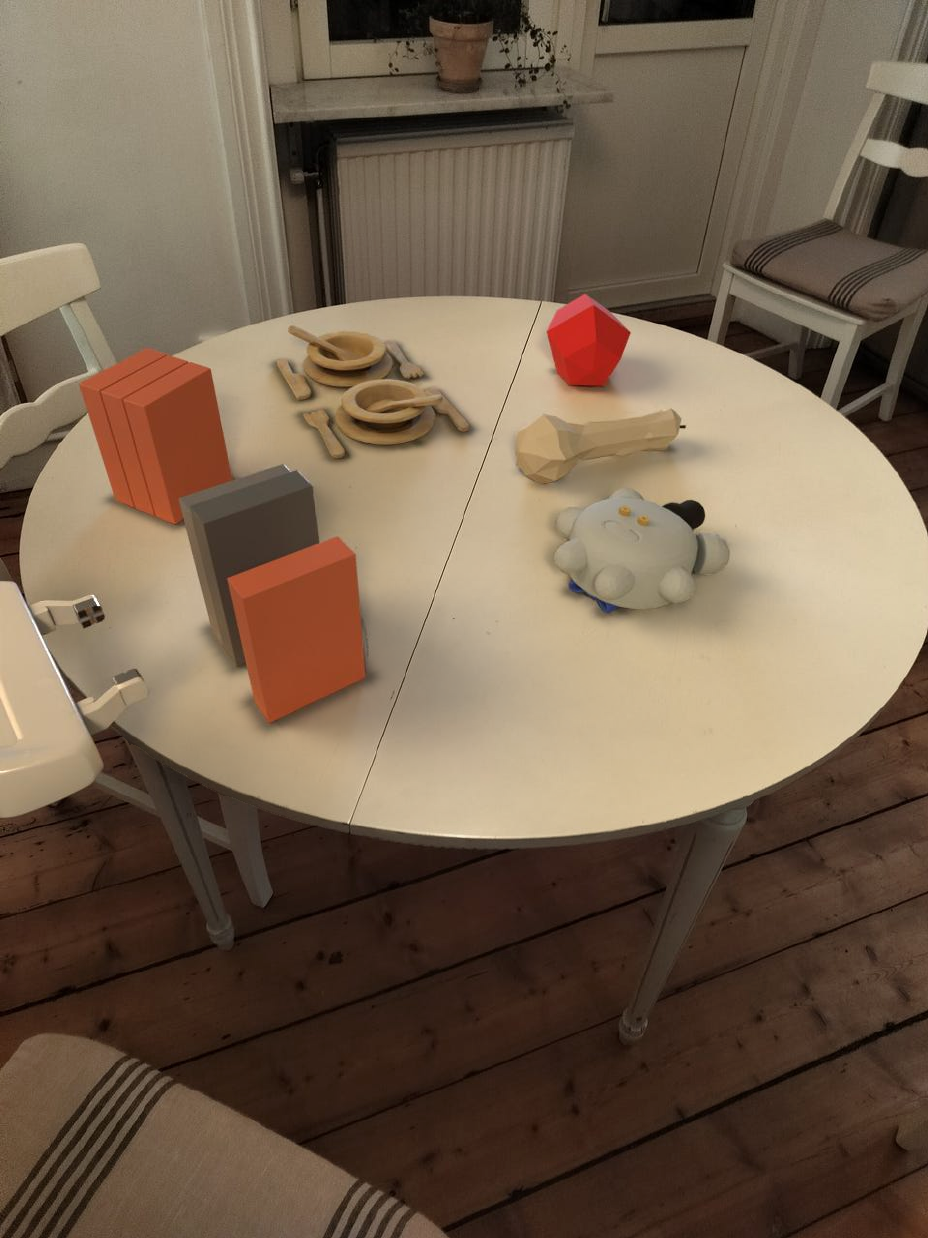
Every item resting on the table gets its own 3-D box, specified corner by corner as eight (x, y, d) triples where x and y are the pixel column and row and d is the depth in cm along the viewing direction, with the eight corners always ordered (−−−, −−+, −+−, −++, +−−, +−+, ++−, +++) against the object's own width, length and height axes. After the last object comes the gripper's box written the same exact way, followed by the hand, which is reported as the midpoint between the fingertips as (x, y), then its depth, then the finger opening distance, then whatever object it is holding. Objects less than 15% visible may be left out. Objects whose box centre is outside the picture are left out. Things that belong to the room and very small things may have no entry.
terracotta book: (269, 723, 74) (242, 599, 64) (254, 702, 76) (226, 577, 66) (365, 677, 79) (355, 554, 68) (350, 658, 80) (338, 535, 70)
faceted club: (495, 456, 106) (657, 425, 114) (524, 506, 102) (688, 470, 111) (511, 403, 98) (682, 375, 107) (542, 455, 94) (717, 422, 103)
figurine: (639, 655, 81) (746, 583, 93) (661, 585, 76) (772, 518, 87) (512, 570, 90) (624, 514, 102) (523, 502, 85) (640, 451, 96)
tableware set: (472, 432, 111) (473, 391, 107) (331, 463, 105) (327, 421, 101) (392, 340, 131) (391, 303, 127) (270, 361, 125) (264, 323, 121)
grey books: (236, 667, 79) (203, 523, 68) (211, 630, 83) (175, 488, 71) (329, 626, 84) (313, 485, 72) (302, 593, 87) (281, 453, 75)
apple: (541, 400, 121) (533, 335, 129) (623, 405, 122) (610, 340, 130) (557, 331, 111) (547, 265, 119) (645, 337, 112) (630, 271, 121)
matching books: (175, 524, 95) (144, 406, 85) (115, 500, 98) (78, 383, 88) (233, 482, 101) (210, 367, 91) (175, 460, 105) (147, 347, 94)
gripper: (-93, 662, 64) (88, 596, 70) (-31, 858, 52) (181, 758, 58) (-131, 601, 60) (66, 536, 66) (-72, 801, 48) (161, 699, 54)
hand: (121, 642), depth 62 cm, fingers open, 8 cm apart
